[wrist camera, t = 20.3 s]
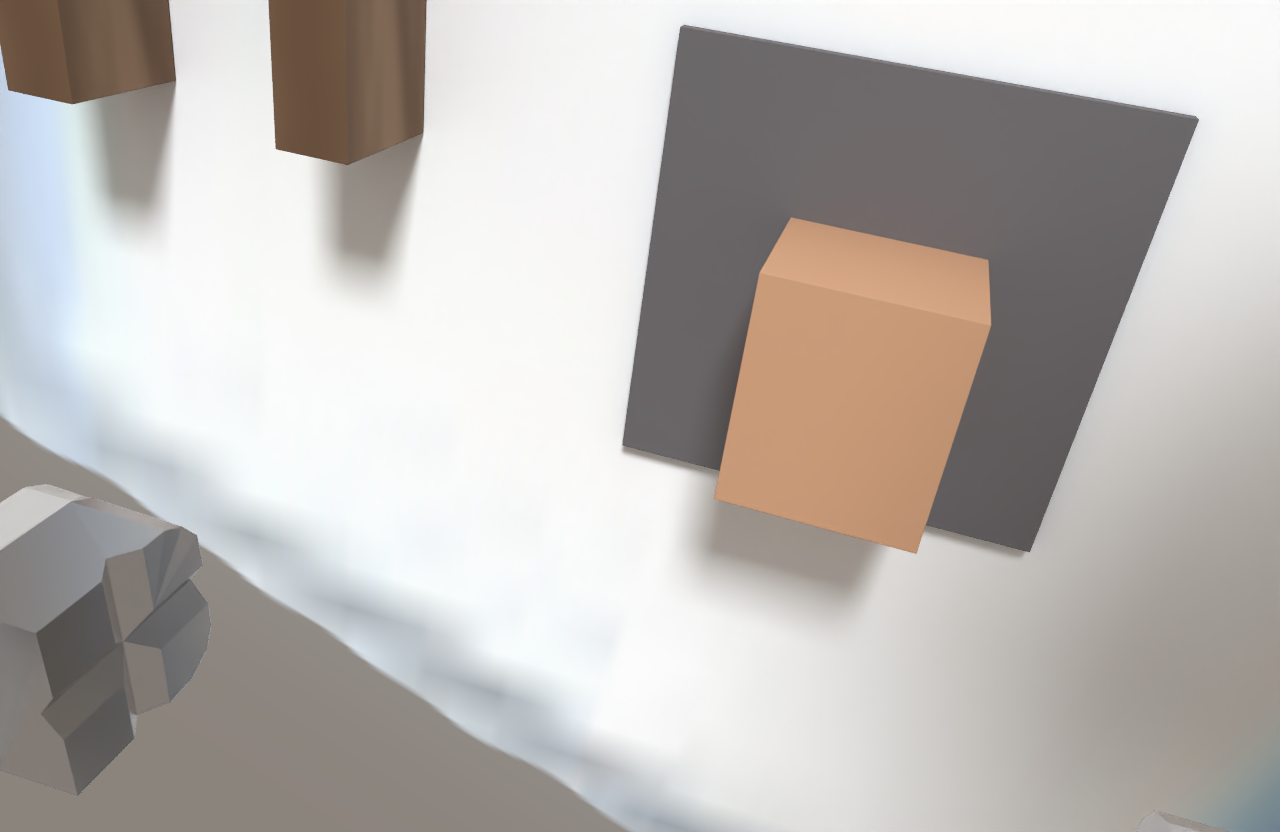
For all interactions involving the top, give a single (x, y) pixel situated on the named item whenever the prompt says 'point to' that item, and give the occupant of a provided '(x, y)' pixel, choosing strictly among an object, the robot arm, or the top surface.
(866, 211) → the charcoal mat
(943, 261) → the terracotta block
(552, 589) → the top surface
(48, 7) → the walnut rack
